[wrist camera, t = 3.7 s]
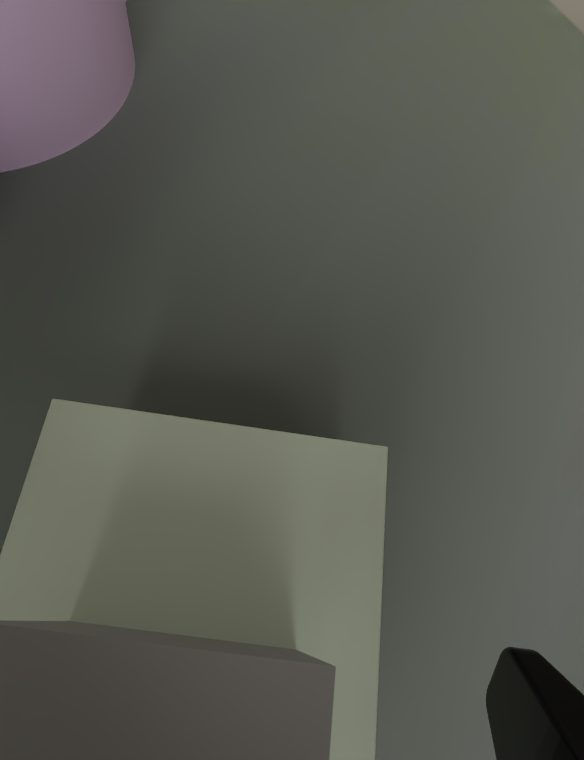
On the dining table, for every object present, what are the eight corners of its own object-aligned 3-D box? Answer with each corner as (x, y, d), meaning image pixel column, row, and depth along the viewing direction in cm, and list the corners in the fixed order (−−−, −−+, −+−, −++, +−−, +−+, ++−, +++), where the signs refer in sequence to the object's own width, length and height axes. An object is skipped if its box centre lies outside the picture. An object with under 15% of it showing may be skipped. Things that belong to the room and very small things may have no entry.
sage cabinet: (322, 733, 14) (473, 922, 5) (46, 700, 13) (-290, 843, 5) (340, 500, 16) (461, 363, 8) (108, 468, 16) (-37, 286, 7)
